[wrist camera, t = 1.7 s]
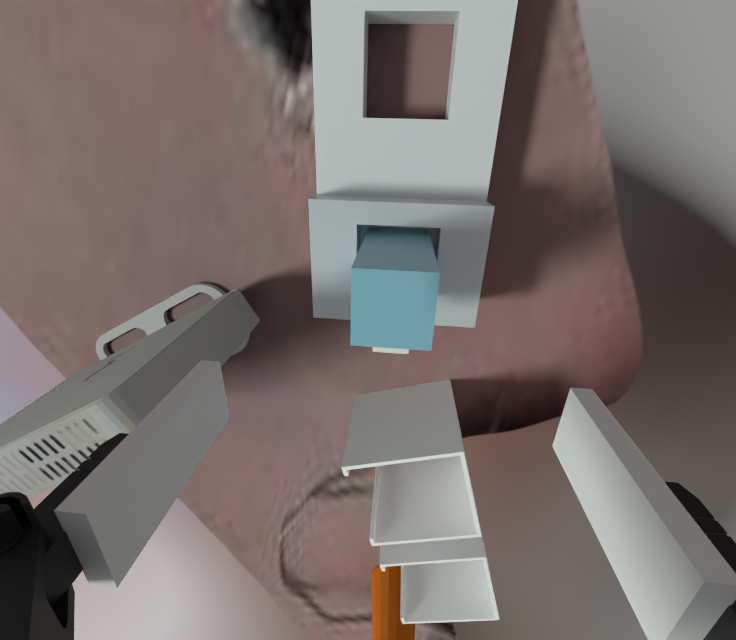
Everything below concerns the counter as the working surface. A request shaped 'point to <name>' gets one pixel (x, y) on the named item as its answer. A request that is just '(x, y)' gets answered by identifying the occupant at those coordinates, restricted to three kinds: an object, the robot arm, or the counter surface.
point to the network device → (118, 387)
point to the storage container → (423, 502)
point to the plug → (394, 291)
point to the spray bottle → (388, 606)
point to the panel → (406, 149)
